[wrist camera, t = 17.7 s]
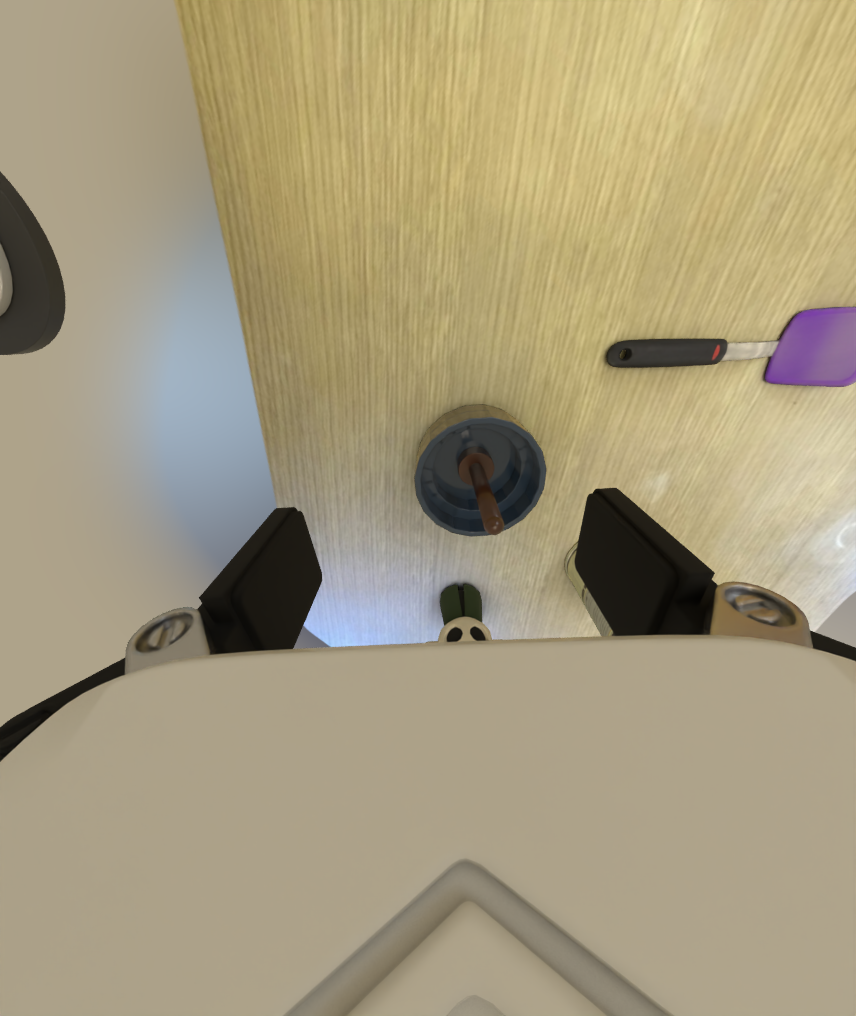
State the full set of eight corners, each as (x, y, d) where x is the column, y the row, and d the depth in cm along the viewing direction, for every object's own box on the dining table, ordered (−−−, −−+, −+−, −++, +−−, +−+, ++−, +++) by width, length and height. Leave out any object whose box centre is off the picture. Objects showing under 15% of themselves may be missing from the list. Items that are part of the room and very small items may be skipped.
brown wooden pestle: (457, 479, 38) (470, 552, 26) (456, 447, 36) (469, 510, 24) (490, 477, 37) (519, 549, 25) (491, 445, 35) (523, 506, 23)
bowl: (421, 512, 41) (420, 539, 35) (412, 408, 34) (408, 422, 29) (524, 506, 40) (538, 532, 35) (534, 399, 34) (553, 412, 28)
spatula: (595, 387, 33) (606, 392, 31) (613, 311, 29) (627, 310, 27) (828, 383, 32) (856, 387, 30) (874, 305, 29) (909, 304, 27)
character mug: (497, 577, 46) (518, 658, 35) (494, 611, 50) (513, 694, 38) (423, 580, 47) (421, 660, 35) (425, 613, 50) (424, 696, 39)
